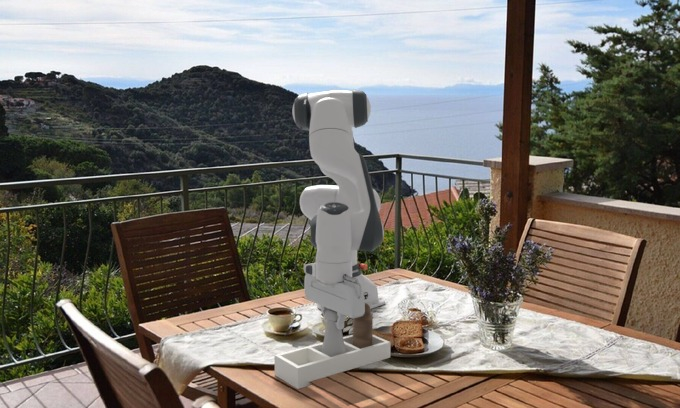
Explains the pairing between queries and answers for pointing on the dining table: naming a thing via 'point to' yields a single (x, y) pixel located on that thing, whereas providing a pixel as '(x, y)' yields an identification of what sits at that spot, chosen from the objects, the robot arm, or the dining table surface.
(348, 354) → the caddy
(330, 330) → the salt shaker
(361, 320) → the pepper mill
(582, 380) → the dining table surface
